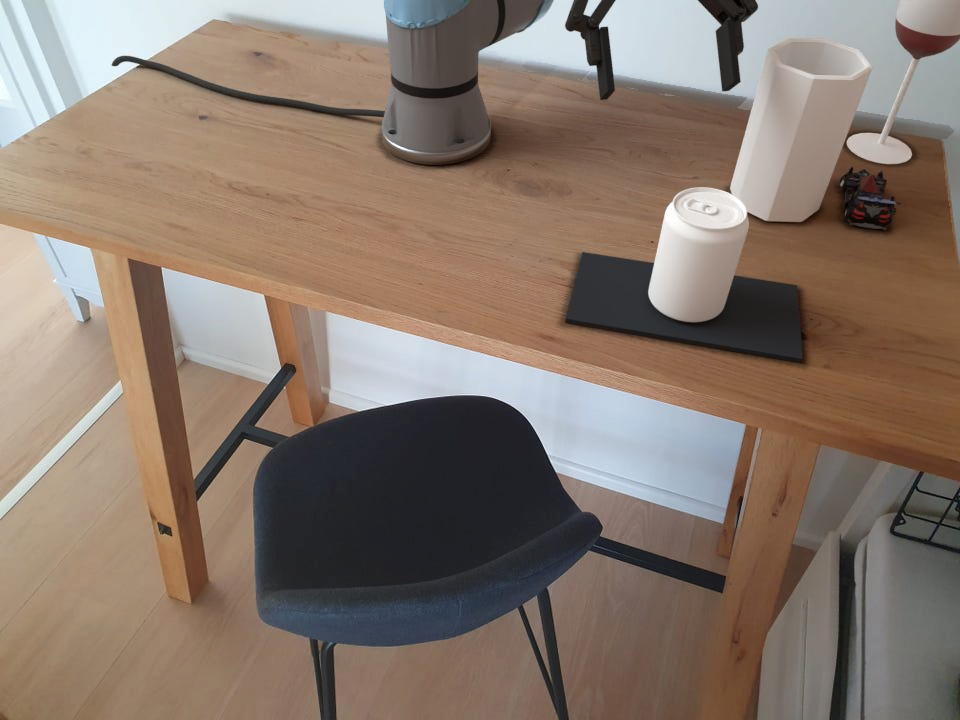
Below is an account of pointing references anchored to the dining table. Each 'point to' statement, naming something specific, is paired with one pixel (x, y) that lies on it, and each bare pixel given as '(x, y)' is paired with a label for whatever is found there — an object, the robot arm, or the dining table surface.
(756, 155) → the cup
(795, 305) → the place mat
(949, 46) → the wineglass
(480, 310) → the dining table surface
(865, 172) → the toy car
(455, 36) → the robot arm
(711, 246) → the beverage can
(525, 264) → the dining table surface
